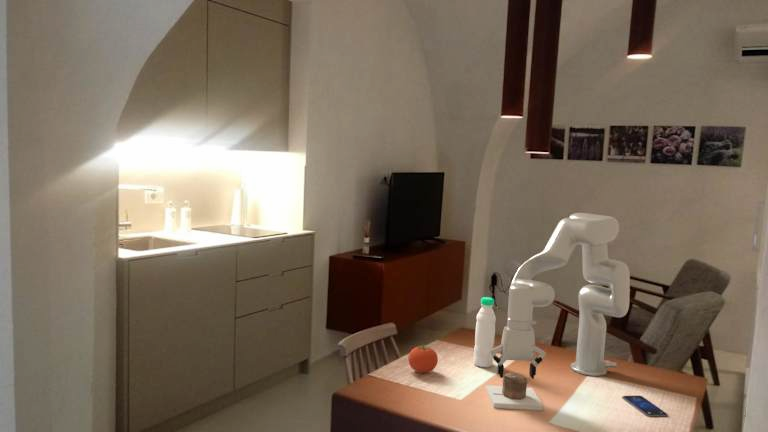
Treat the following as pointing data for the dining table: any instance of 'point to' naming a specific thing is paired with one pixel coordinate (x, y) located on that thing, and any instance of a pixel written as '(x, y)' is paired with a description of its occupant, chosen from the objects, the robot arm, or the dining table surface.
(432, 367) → the tomato
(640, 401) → the smartphone
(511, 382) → the brown short cylinder
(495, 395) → the plate
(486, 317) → the water bottle
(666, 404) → the dining table surface
